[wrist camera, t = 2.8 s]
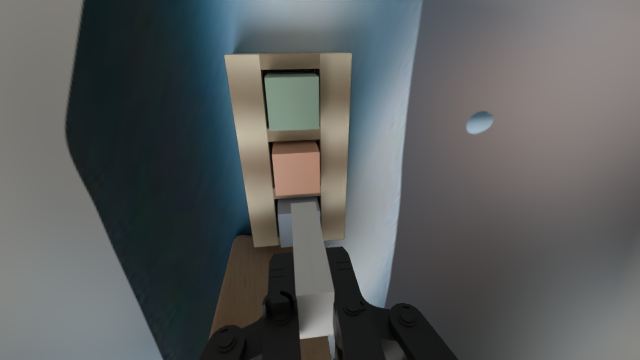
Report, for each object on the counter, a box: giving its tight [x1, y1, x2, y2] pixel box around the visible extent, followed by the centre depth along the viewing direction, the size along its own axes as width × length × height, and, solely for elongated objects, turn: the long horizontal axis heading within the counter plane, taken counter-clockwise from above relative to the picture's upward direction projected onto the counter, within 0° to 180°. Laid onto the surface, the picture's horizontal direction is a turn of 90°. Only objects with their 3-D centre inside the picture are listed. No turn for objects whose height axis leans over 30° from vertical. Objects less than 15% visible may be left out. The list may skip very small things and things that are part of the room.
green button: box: [265, 72, 319, 131], centre depth 22 cm, size 4×4×4 cm
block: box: [209, 235, 331, 360], centre depth 27 cm, size 10×10×20 cm
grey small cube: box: [278, 196, 320, 248], centre depth 28 cm, size 4×4×4 cm
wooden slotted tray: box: [224, 52, 352, 247], centre depth 27 cm, size 19×10×4 cm, turn 1°
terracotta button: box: [272, 140, 320, 196], centre depth 25 cm, size 4×4×4 cm
